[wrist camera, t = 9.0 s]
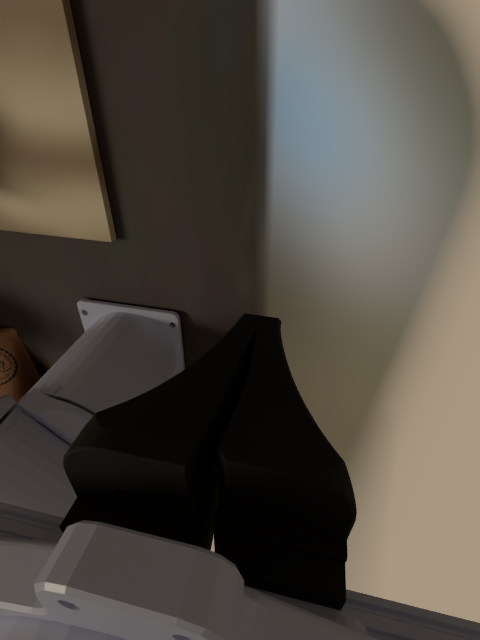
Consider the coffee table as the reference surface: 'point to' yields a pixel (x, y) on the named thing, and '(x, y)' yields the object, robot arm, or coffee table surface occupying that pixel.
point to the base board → (47, 127)
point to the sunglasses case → (15, 365)
